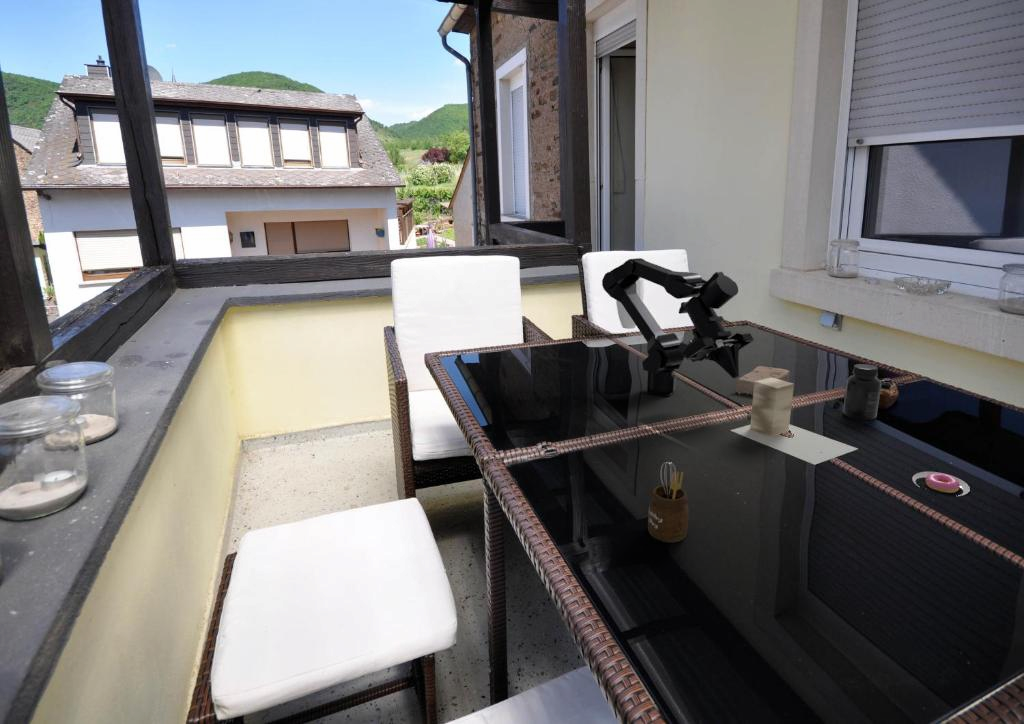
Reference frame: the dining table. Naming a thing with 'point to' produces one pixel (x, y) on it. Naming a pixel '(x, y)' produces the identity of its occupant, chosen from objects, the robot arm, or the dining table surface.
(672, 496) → the utensil holder
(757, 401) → the block
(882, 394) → the pastry
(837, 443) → the mat
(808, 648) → the dining table surface
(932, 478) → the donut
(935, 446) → the dining table surface
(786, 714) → the dining table surface
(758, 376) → the brick
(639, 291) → the cup
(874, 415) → the supplement bottle
